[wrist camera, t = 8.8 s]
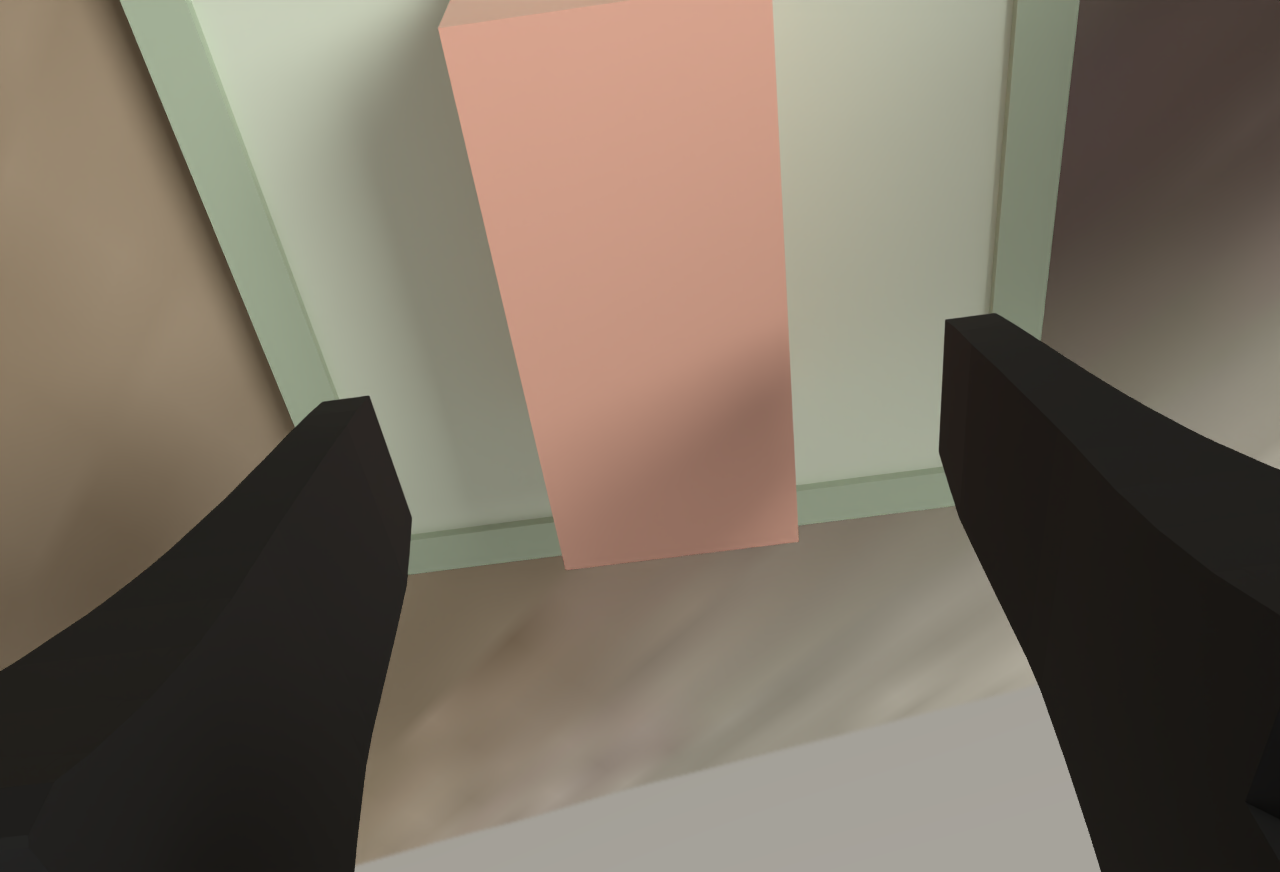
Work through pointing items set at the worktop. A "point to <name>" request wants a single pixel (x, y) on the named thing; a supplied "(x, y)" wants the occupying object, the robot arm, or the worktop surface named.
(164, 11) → the baseplate
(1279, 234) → the worktop surface
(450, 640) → the worktop surface
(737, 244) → the coral brick
